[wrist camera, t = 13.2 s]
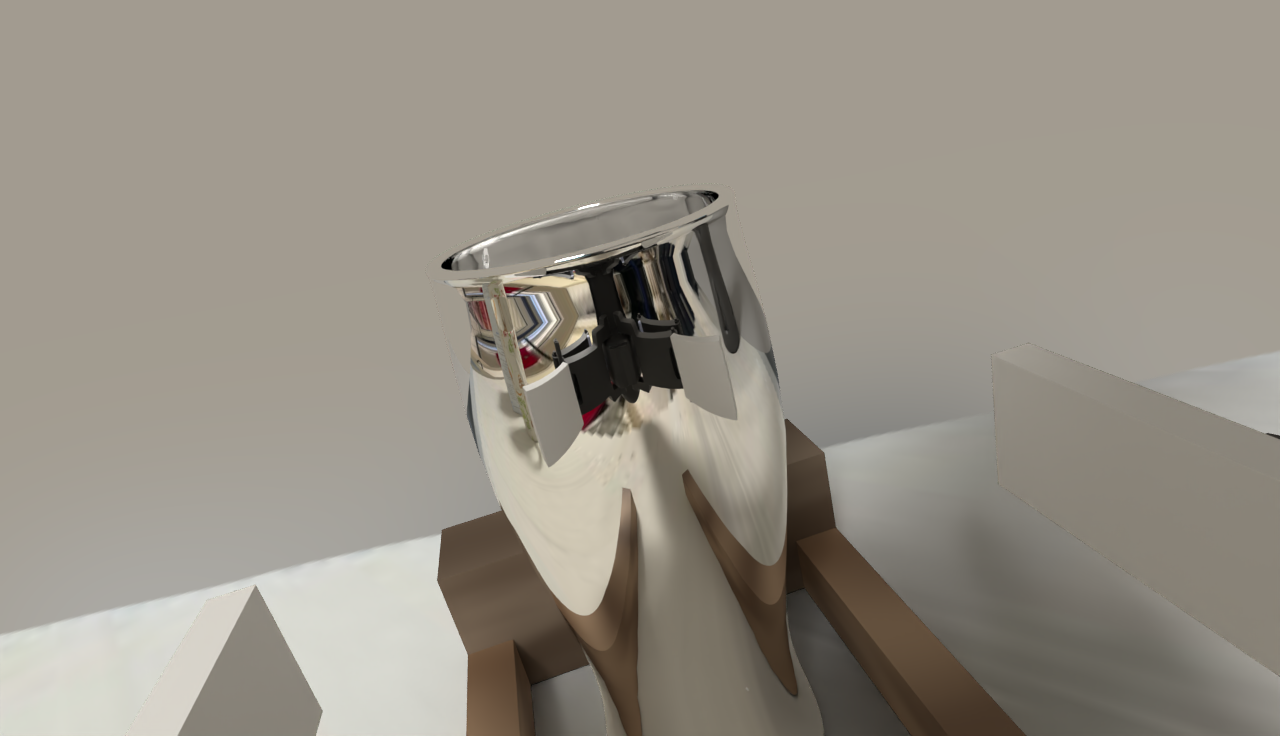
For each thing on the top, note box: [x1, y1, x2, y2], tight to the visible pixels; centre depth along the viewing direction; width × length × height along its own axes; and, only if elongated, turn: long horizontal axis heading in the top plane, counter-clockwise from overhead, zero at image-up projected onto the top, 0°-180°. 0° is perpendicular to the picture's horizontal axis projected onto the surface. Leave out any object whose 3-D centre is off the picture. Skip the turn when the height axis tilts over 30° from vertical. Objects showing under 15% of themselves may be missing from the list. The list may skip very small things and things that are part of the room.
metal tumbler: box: [425, 184, 824, 736], centre depth 17 cm, size 7×7×15 cm
